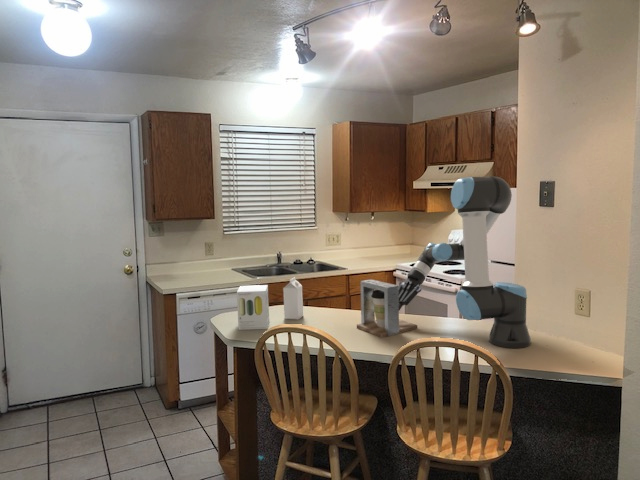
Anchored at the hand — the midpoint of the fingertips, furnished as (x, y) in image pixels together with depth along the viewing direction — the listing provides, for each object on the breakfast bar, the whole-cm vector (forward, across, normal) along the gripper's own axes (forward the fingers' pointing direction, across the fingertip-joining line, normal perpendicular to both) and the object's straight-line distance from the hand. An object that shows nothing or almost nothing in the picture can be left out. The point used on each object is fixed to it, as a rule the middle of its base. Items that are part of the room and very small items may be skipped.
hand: (391, 315), depth 223 cm
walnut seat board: (+6, -1, -1) cm, 6 cm away
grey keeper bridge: (+9, -1, +2) cm, 9 cm away
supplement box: (+37, +40, +30) cm, 62 cm away
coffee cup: (+6, -1, +1) cm, 6 cm away
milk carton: (+22, +40, +15) cm, 48 cm away
